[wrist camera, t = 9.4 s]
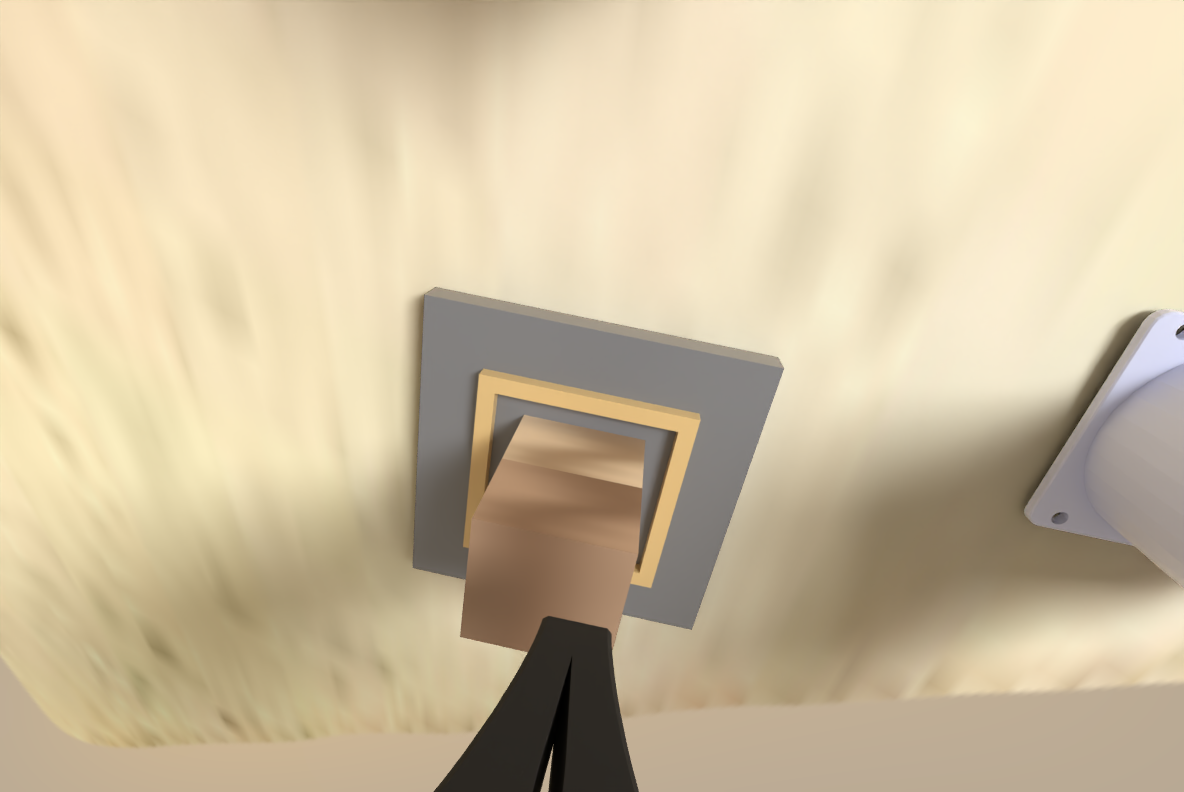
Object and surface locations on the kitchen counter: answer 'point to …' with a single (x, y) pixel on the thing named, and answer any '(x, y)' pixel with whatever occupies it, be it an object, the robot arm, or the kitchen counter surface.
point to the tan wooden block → (554, 533)
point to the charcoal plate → (596, 401)
